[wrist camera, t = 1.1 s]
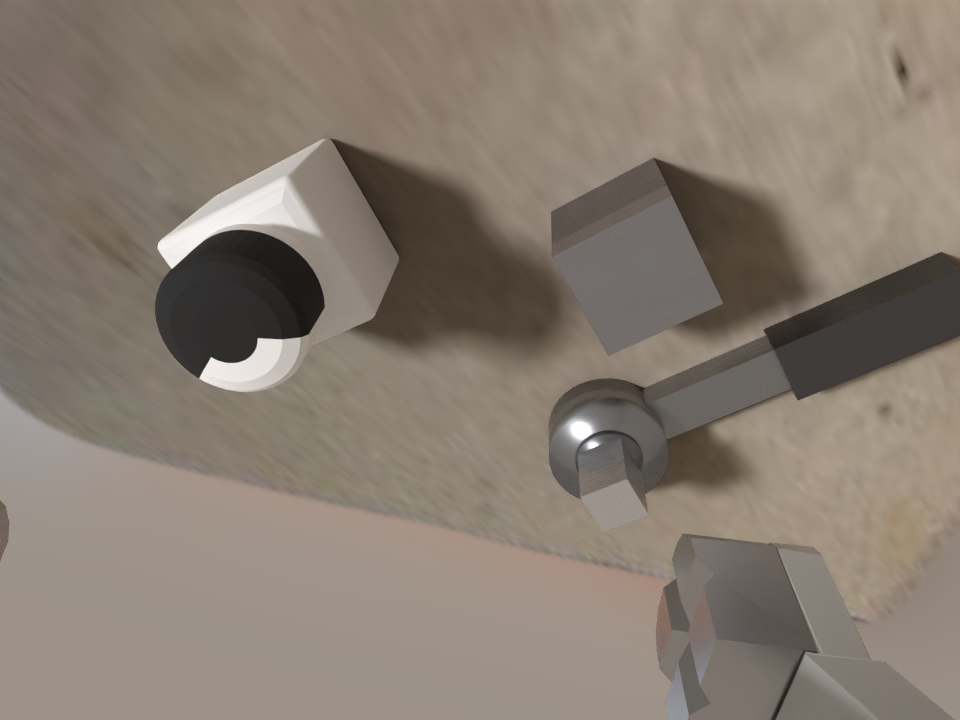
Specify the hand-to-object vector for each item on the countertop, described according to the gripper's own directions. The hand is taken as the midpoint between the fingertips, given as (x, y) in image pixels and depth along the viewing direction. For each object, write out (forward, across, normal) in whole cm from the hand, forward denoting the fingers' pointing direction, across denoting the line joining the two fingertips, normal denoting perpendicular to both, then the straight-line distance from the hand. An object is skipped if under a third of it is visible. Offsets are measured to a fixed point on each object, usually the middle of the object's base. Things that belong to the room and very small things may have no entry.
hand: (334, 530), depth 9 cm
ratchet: (+30, -15, +13) cm, 36 cm away
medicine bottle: (+31, +8, +8) cm, 33 cm away
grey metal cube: (+30, -8, +6) cm, 32 cm away
